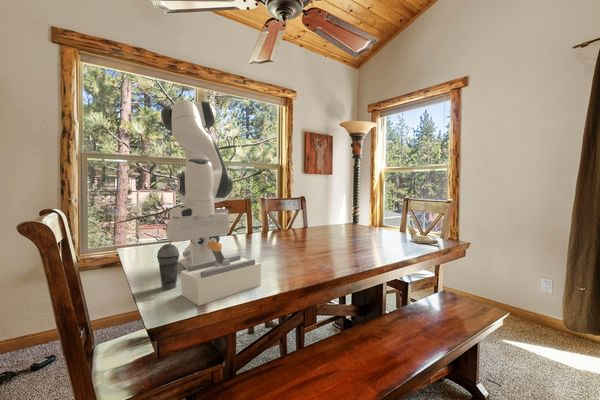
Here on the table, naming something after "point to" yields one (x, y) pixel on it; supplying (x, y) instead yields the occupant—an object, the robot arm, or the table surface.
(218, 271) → the grey slotted rail
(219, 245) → the lever
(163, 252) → the beverage cup
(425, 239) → the lying animal figurine
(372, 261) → the table surface
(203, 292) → the box
